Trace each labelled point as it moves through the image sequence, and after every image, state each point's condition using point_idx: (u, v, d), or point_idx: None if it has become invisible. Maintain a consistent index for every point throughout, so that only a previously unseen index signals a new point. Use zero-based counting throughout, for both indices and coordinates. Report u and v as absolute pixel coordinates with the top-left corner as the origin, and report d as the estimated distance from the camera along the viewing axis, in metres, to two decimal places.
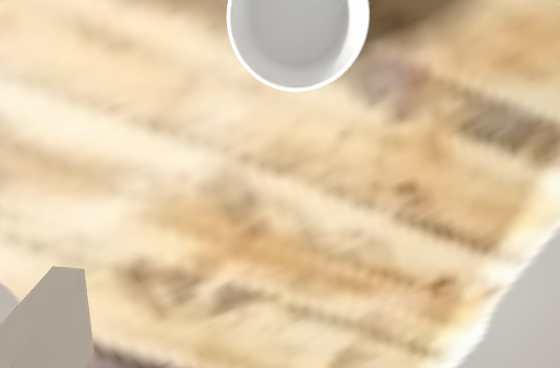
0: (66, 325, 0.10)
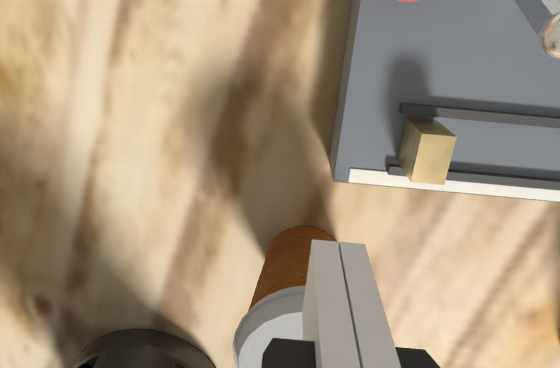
0: None
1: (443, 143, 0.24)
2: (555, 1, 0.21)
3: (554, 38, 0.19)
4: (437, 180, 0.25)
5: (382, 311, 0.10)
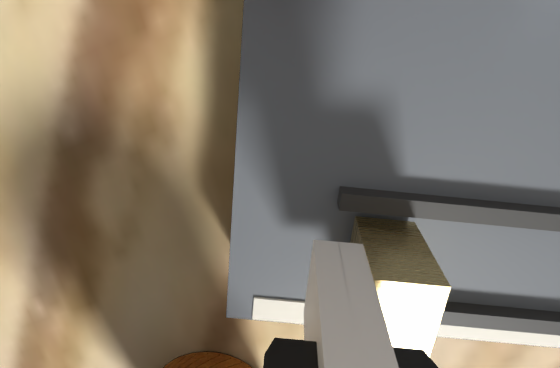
0: None
1: (421, 299, 0.11)
2: None
3: None
4: None
5: (380, 311, 0.10)
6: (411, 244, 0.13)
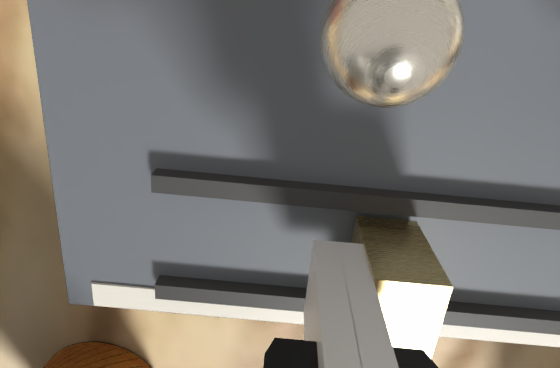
0: None
1: (423, 299, 0.11)
2: None
3: (340, 48, 0.06)
4: None
5: (380, 311, 0.10)
6: (413, 243, 0.13)
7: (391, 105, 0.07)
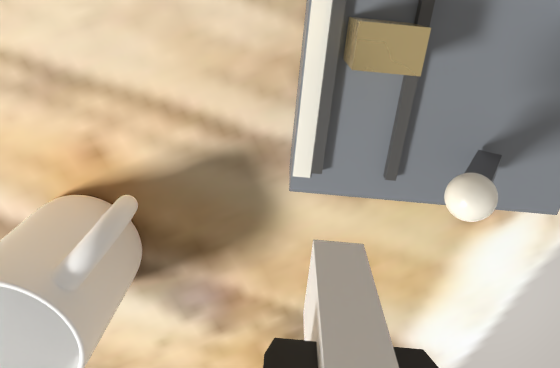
0: None
1: (413, 59, 0.18)
2: None
3: None
4: (360, 60, 0.18)
5: (380, 311, 0.10)
6: None
7: None
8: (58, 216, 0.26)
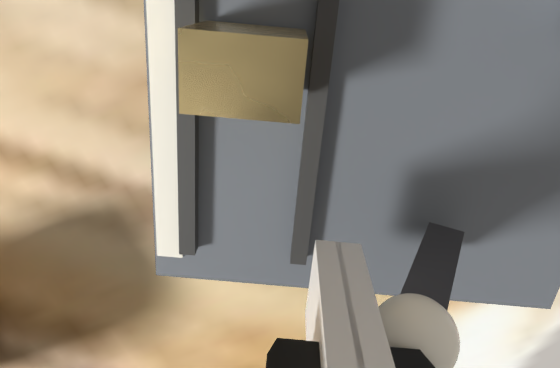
0: None
1: (283, 96, 0.10)
2: None
3: None
4: (189, 96, 0.10)
5: (377, 310, 0.10)
6: None
7: None
8: None
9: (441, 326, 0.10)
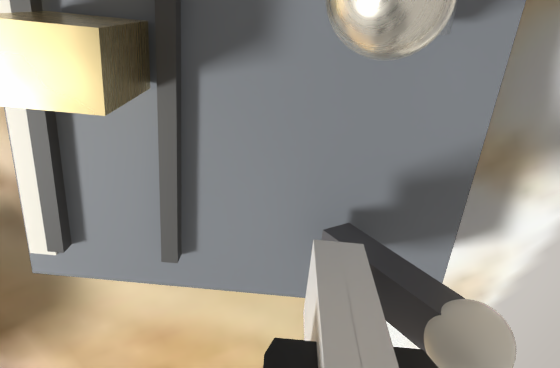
0: None
1: (83, 86, 0.10)
2: None
3: None
4: None
5: (380, 311, 0.10)
6: (132, 80, 0.12)
7: None
8: None
9: (500, 316, 0.11)
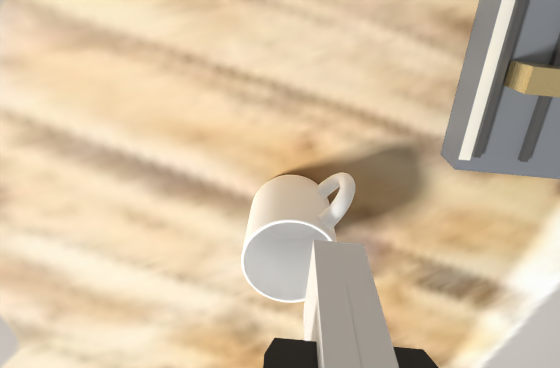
0: None
1: None
2: None
3: None
4: (530, 88, 0.32)
5: (380, 311, 0.10)
6: None
7: None
8: (295, 187, 0.40)
9: None
